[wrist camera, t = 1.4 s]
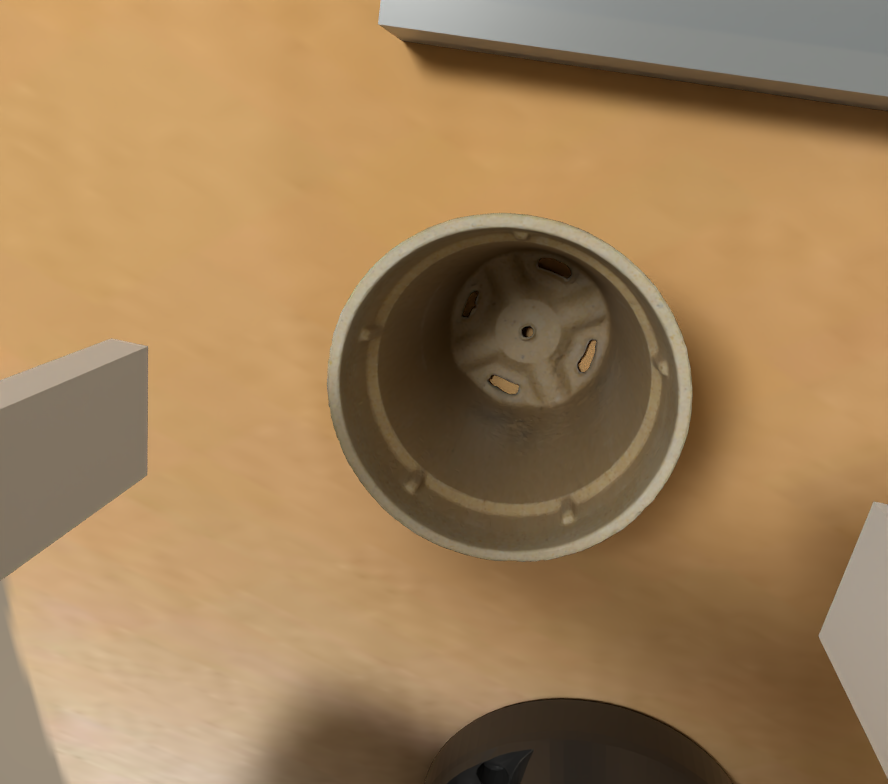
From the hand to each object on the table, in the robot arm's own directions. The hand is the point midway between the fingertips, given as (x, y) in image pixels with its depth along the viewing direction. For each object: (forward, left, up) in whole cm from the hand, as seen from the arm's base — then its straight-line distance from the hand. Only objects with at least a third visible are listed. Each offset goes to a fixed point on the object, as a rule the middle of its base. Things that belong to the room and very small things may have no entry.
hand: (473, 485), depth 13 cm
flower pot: (0, 0, -14) cm, 14 cm away
